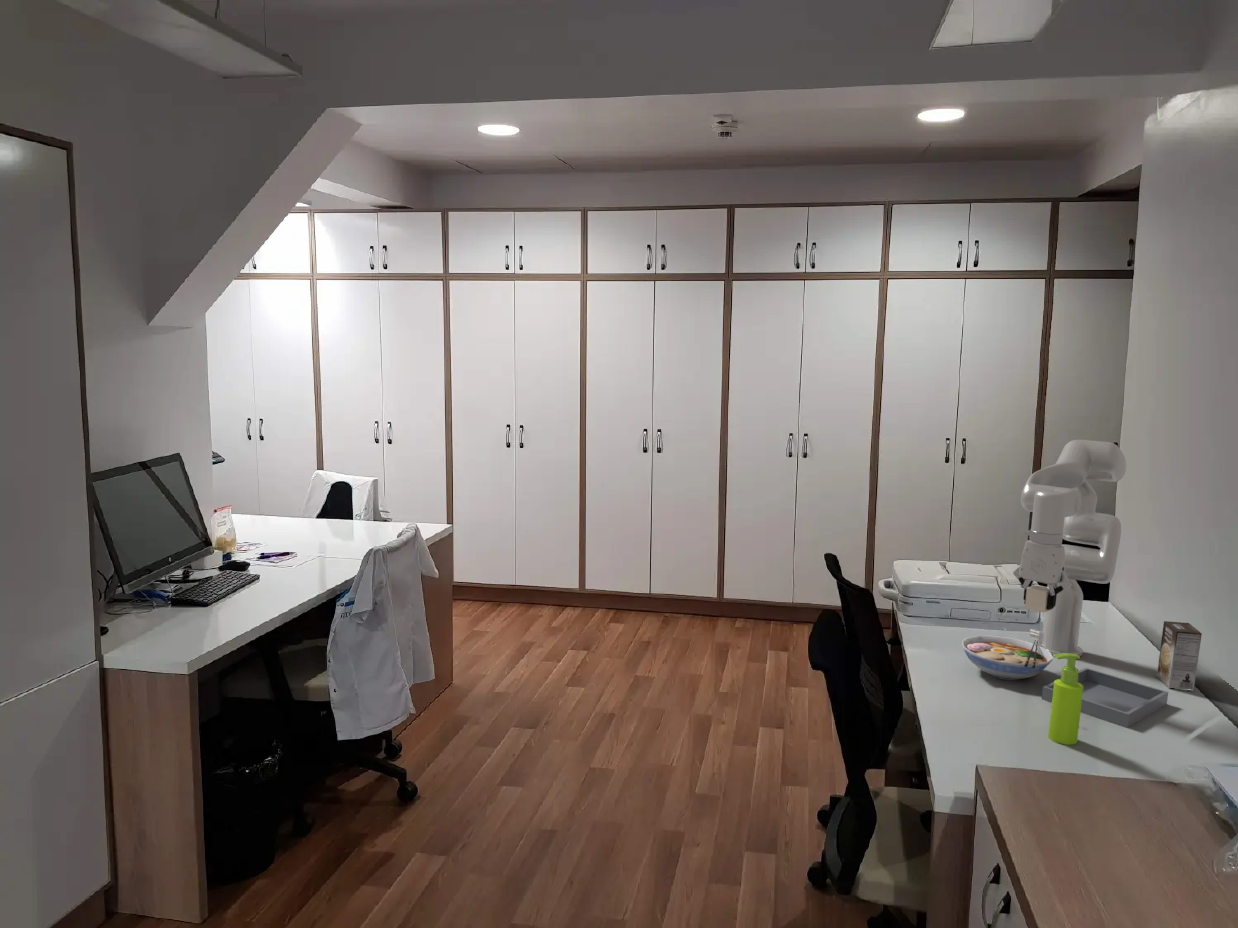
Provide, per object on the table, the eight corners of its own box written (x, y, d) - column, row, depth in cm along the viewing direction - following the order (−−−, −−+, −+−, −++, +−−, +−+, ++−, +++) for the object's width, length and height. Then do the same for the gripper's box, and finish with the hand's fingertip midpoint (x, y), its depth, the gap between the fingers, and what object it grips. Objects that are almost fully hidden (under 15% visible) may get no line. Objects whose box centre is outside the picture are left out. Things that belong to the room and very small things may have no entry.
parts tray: (1041, 701, 224) (1042, 686, 223) (1084, 681, 239) (1085, 667, 239) (1126, 730, 209) (1128, 714, 208) (1166, 707, 224) (1168, 691, 223)
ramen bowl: (966, 653, 258) (969, 626, 257) (1054, 670, 247) (1057, 642, 246) (951, 680, 237) (954, 650, 235) (1046, 700, 225) (1049, 669, 224)
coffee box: (1155, 676, 245) (1162, 620, 243) (1181, 679, 244) (1188, 622, 242) (1168, 689, 236) (1176, 630, 234) (1195, 691, 235) (1203, 632, 233)
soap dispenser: (1038, 733, 205) (1047, 649, 203) (1067, 733, 206) (1076, 649, 203) (1053, 744, 199) (1062, 658, 197) (1082, 744, 200) (1092, 659, 197)
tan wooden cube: (1024, 607, 234) (1026, 587, 233) (1033, 604, 237) (1035, 584, 237) (1044, 612, 230) (1046, 592, 230) (1052, 609, 234) (1054, 588, 233)
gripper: (1007, 533, 235) (1000, 600, 238) (1074, 546, 222) (1066, 617, 225) (1020, 530, 240) (1013, 595, 243) (1086, 542, 227) (1078, 611, 230)
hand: (1038, 605), depth 234 cm, fingers closed on tan wooden cube, 5 cm apart
